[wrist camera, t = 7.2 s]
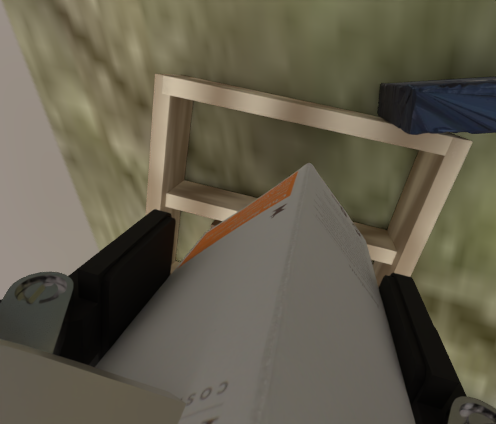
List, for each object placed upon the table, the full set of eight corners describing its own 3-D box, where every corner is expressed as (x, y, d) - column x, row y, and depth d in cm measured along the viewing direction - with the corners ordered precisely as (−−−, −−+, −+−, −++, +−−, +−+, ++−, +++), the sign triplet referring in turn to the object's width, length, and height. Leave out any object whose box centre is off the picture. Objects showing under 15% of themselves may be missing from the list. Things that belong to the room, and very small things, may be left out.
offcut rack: (444, 130, 25) (473, 141, 20) (362, 323, 33) (370, 362, 28) (182, 75, 27) (155, 73, 23) (163, 267, 35) (140, 295, 30)
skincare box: (309, 156, 13) (252, 518, 2) (367, 239, 14) (552, 834, 3) (199, 231, 15) (-108, 599, 4) (254, 299, 16) (109, 763, 5)
